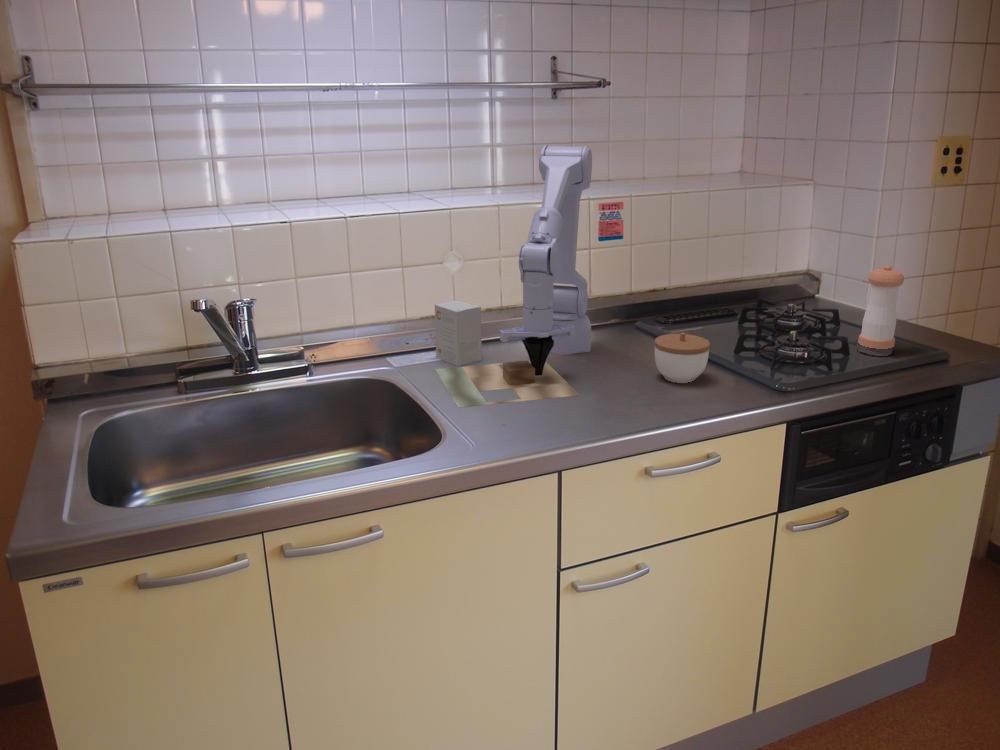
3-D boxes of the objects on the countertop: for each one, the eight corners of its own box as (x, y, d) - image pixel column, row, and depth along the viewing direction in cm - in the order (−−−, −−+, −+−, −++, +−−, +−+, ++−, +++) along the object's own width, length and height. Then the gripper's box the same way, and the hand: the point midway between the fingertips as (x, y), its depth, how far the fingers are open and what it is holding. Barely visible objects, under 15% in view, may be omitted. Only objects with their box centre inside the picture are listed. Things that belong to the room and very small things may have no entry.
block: (527, 374, 161) (527, 360, 160) (534, 383, 157) (535, 368, 156) (502, 377, 160) (502, 362, 159) (509, 385, 155) (509, 370, 154)
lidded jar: (717, 377, 164) (721, 332, 161) (689, 391, 156) (692, 344, 153) (670, 366, 171) (673, 322, 168) (642, 378, 163) (644, 333, 160)
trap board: (543, 366, 171) (543, 359, 170) (579, 402, 151) (580, 395, 150) (435, 376, 165) (434, 369, 165) (458, 415, 145) (458, 407, 145)
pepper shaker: (898, 357, 176) (913, 269, 169) (864, 357, 176) (878, 269, 169) (884, 347, 183) (897, 262, 176) (851, 347, 183) (863, 262, 176)
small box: (482, 366, 171) (481, 306, 167) (458, 373, 167) (456, 311, 163) (459, 357, 177) (458, 299, 172) (435, 363, 173) (433, 303, 169)
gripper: (506, 314, 149) (506, 384, 153) (581, 308, 153) (579, 377, 157) (496, 304, 155) (497, 372, 160) (568, 299, 159) (567, 365, 163)
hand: (537, 373), depth 159 cm, fingers closed
